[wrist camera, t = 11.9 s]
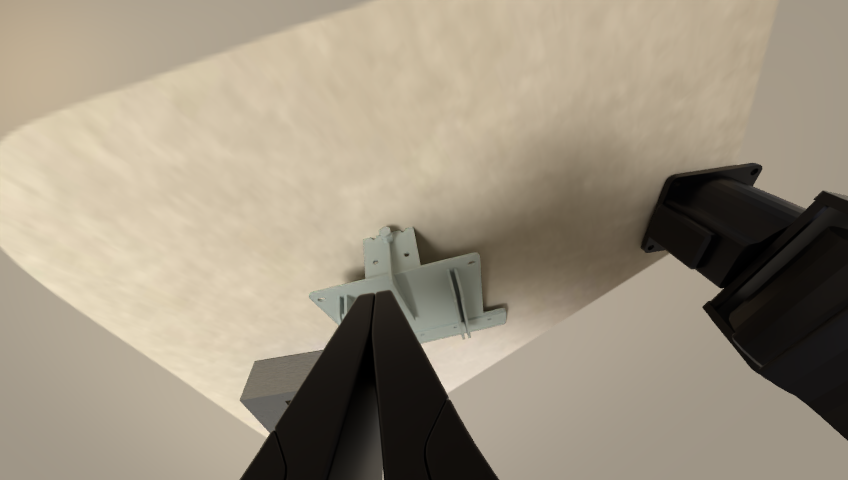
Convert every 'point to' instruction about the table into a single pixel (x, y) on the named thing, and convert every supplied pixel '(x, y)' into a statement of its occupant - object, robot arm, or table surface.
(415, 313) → the metal bracket
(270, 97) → the table surface
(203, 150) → the table surface
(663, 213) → the robot arm
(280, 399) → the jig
